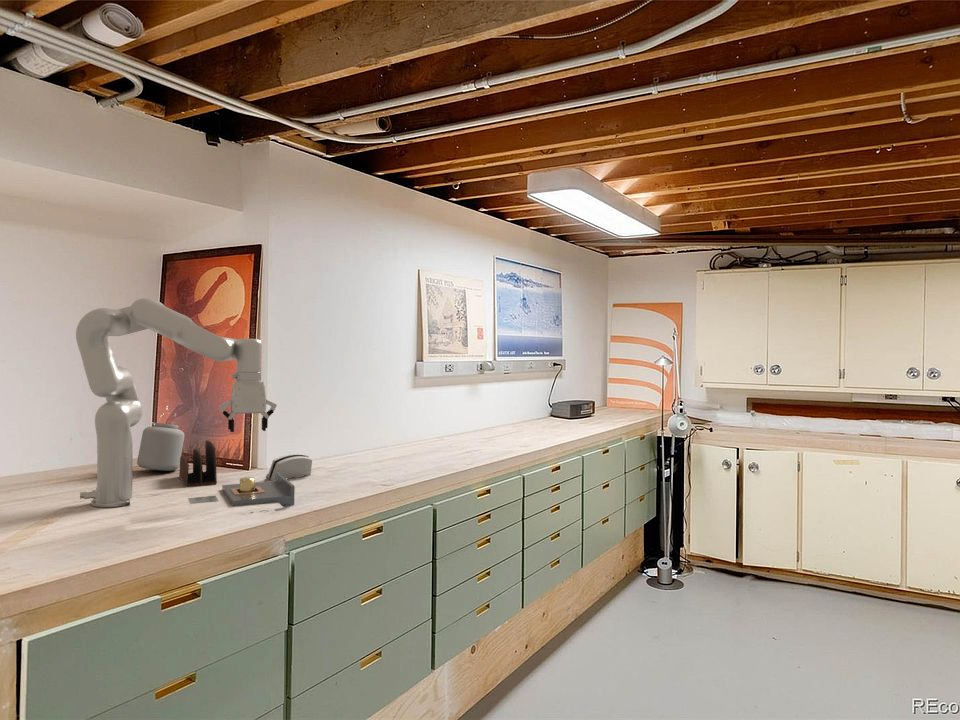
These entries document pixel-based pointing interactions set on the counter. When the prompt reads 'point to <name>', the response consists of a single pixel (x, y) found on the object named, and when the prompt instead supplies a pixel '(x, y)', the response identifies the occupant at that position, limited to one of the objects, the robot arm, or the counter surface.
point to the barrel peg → (247, 484)
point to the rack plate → (262, 492)
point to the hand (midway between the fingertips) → (247, 431)
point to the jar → (161, 447)
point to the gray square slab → (203, 499)
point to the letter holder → (200, 468)
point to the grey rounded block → (290, 466)
